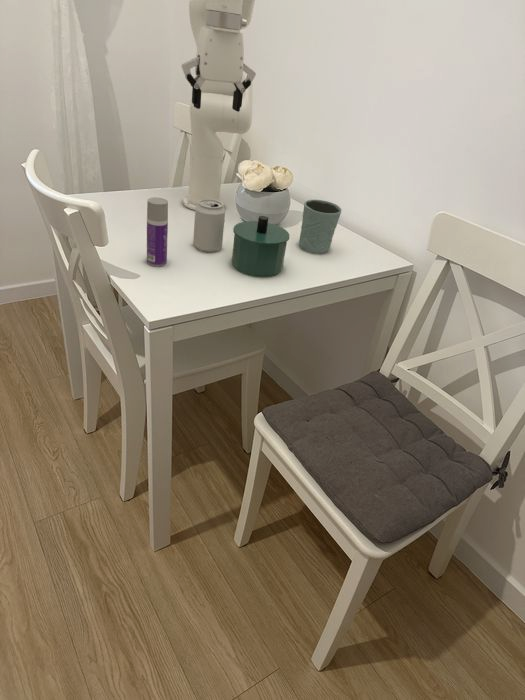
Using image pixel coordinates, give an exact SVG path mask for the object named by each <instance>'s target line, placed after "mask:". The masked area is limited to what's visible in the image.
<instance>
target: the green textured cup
mask: <svg viewBox="0 0 525 700" xmlns="http://www.w3.org/2000/svg"><path fill="white" fill-rule="evenodd" d="M341 215H342V208H341V206H339V205H337V204H336V203H333V202H331V201H329V200H323V199H308V200H306V201H304V204H303V211H302V220H301V221H302V222H301V226H300V234H299V239H298V248H299V249H301V250H302V251H304V252H306V253H310V254H313V255H324V254H327V253H329V251H330V248H331V245H332V242H333V238H334V235H335V231H336V228H337V226H338V223H339V219H340V217H341Z"/></svg>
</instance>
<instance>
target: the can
mask: <svg viewBox="0 0 525 700" xmlns="http://www.w3.org/2000/svg"><path fill="white" fill-rule="evenodd" d="M198 203H199V204H198V205H197V206H196V207H195V210H194V223H193V224H194V225H193V240H192V245H193V246H194V247H195V248H196V249H197V250H198V251H201V252H204V253H215V252H218V251H219V250H220V249H221V248H222V247H223V240H224V229H225V219H226V209H225V207H223V203H224V202H223V203H222V202H220V201H218V200H214V199H202V200H200V201H199V202H198Z"/></svg>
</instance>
